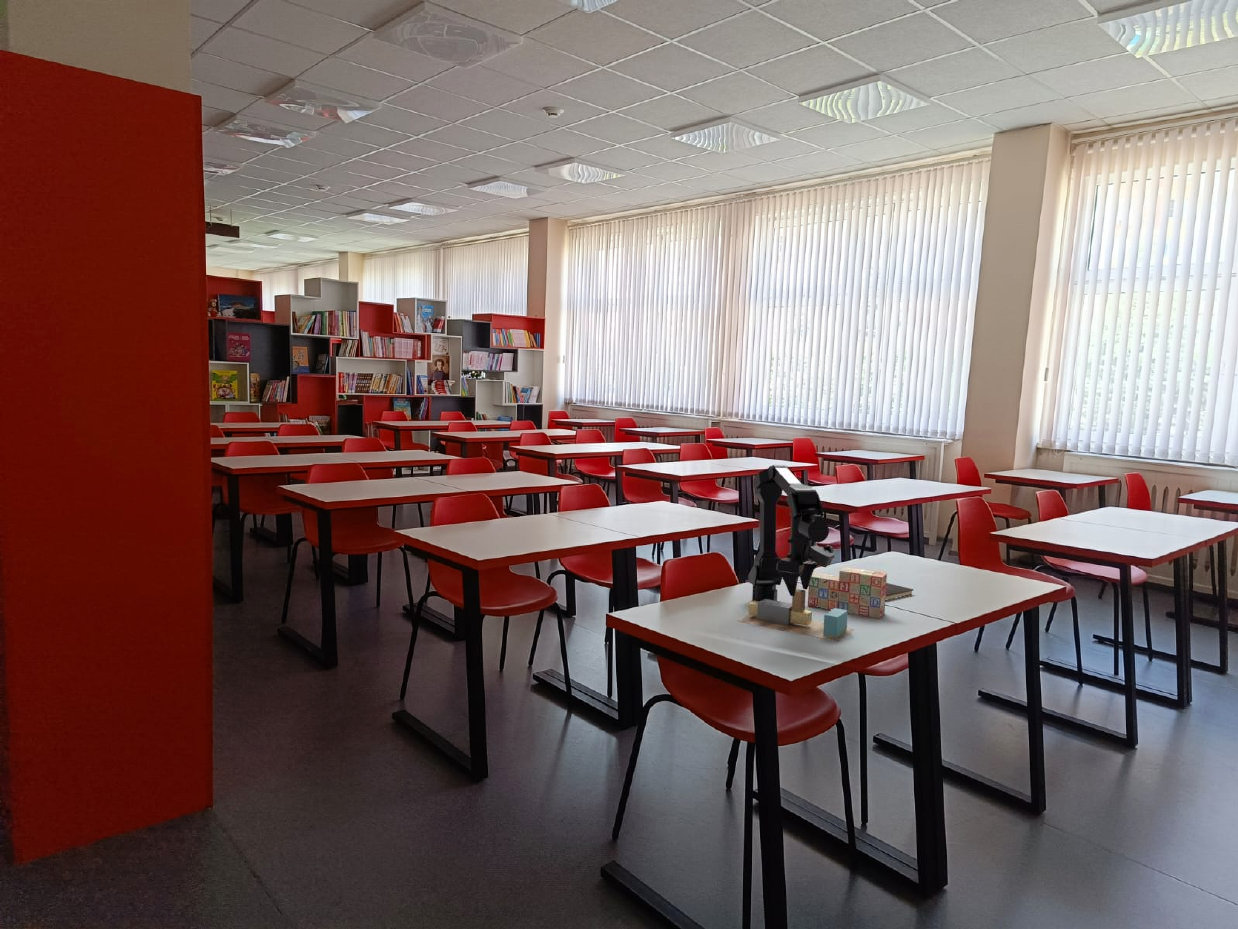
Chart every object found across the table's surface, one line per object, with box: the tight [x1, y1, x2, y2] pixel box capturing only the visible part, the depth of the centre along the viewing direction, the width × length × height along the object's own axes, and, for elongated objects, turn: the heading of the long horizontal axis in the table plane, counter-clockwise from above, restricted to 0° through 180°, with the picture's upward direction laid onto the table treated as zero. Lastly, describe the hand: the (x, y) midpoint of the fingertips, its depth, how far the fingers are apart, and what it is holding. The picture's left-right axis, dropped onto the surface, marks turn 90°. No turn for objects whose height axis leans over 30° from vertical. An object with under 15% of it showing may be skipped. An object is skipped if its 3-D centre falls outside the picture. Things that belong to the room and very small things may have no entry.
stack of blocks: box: [807, 566, 888, 619], centre depth 223 cm, size 21×6×12 cm, turn 58°
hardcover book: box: [885, 582, 914, 600], centre depth 248 cm, size 16×23×2 cm
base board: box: [737, 614, 855, 642], centre depth 204 cm, size 28×13×1 cm, turn 55°
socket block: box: [823, 608, 849, 638], centre depth 197 cm, size 4×8×5 cm, turn 145°
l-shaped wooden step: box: [748, 588, 813, 626], centre depth 206 cm, size 17×3×9 cm, turn 55°
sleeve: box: [757, 599, 793, 626], centre depth 207 cm, size 9×5×5 cm, turn 55°
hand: (798, 592), depth 203 cm, fingers open, 9 cm apart
